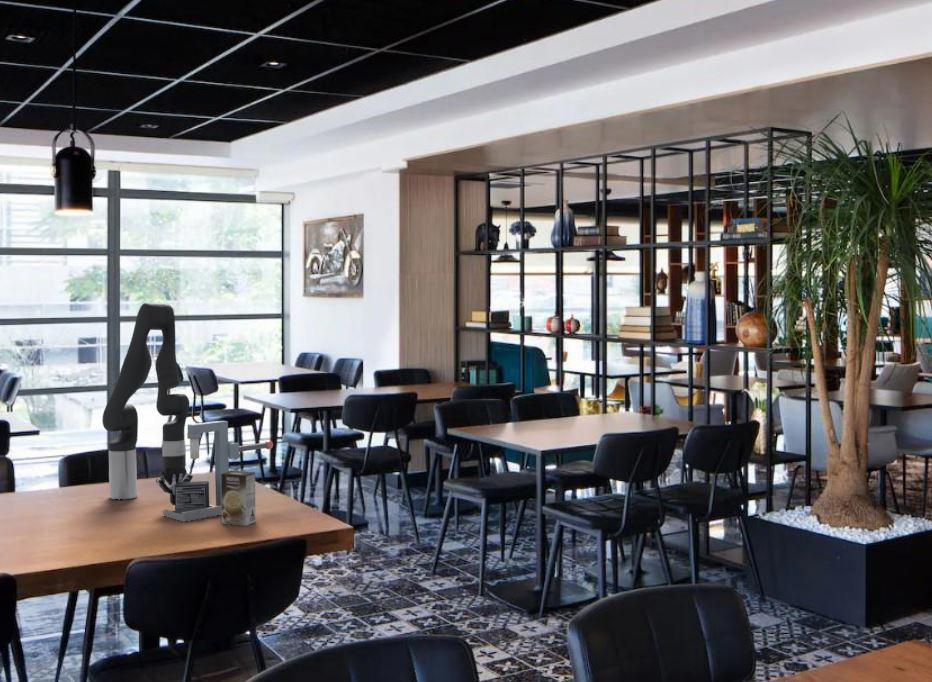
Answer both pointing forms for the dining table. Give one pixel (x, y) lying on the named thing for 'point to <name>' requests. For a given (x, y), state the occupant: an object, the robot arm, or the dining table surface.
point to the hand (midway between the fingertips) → (174, 504)
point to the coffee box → (238, 497)
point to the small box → (191, 496)
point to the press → (220, 465)
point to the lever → (255, 446)
